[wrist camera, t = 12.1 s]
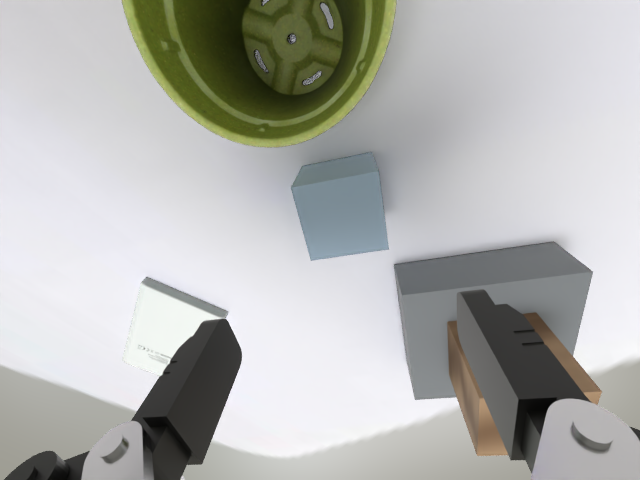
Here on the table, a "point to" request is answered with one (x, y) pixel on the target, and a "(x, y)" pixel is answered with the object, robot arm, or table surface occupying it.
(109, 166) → the table surface
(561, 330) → the base plinth
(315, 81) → the plant pot
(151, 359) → the external hard drive
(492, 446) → the walnut cube
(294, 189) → the blue cube
